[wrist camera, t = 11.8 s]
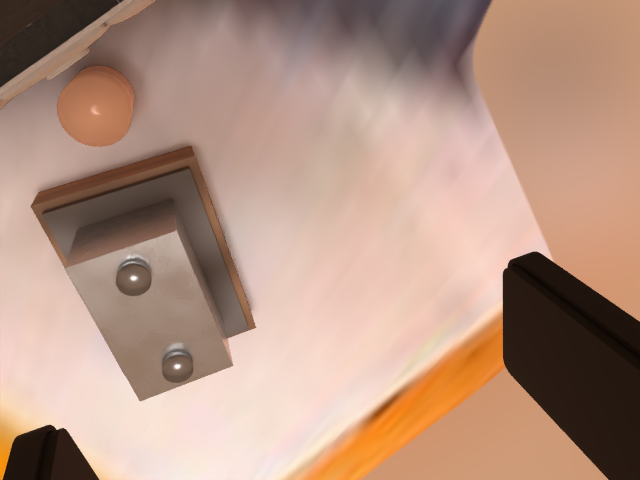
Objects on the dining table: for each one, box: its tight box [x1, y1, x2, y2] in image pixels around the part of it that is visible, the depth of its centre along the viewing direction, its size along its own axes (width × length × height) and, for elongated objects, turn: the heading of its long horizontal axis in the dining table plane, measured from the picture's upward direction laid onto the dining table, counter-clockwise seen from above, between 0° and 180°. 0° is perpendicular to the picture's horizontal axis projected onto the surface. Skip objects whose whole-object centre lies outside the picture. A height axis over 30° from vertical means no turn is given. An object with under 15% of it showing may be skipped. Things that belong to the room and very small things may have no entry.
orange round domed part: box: [57, 65, 134, 147], centre depth 29 cm, size 4×4×5 cm
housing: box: [65, 198, 233, 401], centre depth 31 cm, size 10×6×6 cm, turn 13°
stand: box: [31, 146, 256, 375], centre depth 35 cm, size 14×10×3 cm
